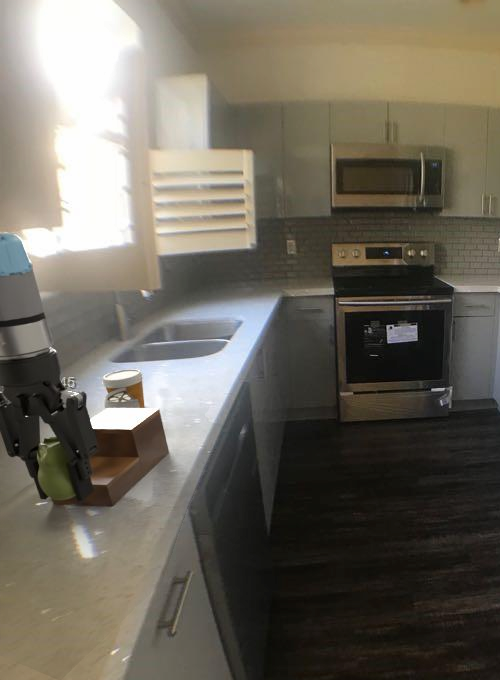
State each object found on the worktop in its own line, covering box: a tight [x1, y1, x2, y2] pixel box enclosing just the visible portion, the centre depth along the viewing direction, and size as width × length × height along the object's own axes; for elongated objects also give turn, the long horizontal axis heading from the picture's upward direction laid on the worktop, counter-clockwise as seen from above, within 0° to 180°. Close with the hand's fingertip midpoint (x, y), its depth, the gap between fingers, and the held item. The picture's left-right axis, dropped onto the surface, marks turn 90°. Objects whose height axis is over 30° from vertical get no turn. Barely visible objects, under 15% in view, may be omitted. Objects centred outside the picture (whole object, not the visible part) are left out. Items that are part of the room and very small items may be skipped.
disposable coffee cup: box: [101, 368, 146, 408], centre depth 121 cm, size 10×10×12 cm
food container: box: [104, 387, 140, 410], centre depth 112 cm, size 12×6×10 cm, turn 42°
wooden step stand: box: [50, 407, 170, 507], centre depth 93 cm, size 12×20×11 cm, turn 175°
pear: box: [37, 436, 76, 500], centre depth 69 cm, size 6×5×10 cm
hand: (67, 494), depth 71 cm, fingers closed on pear, 5 cm apart
